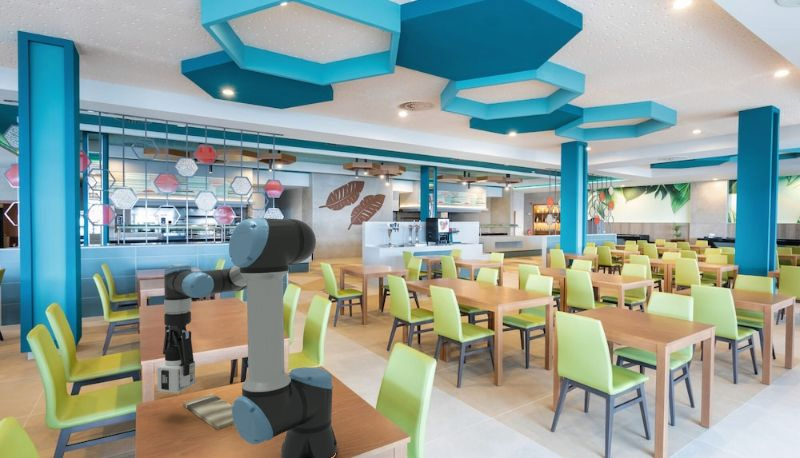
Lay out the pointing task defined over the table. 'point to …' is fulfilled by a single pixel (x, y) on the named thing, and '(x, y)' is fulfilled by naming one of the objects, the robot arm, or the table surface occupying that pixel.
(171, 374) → the container
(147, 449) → the table surface
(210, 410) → the metal panel
